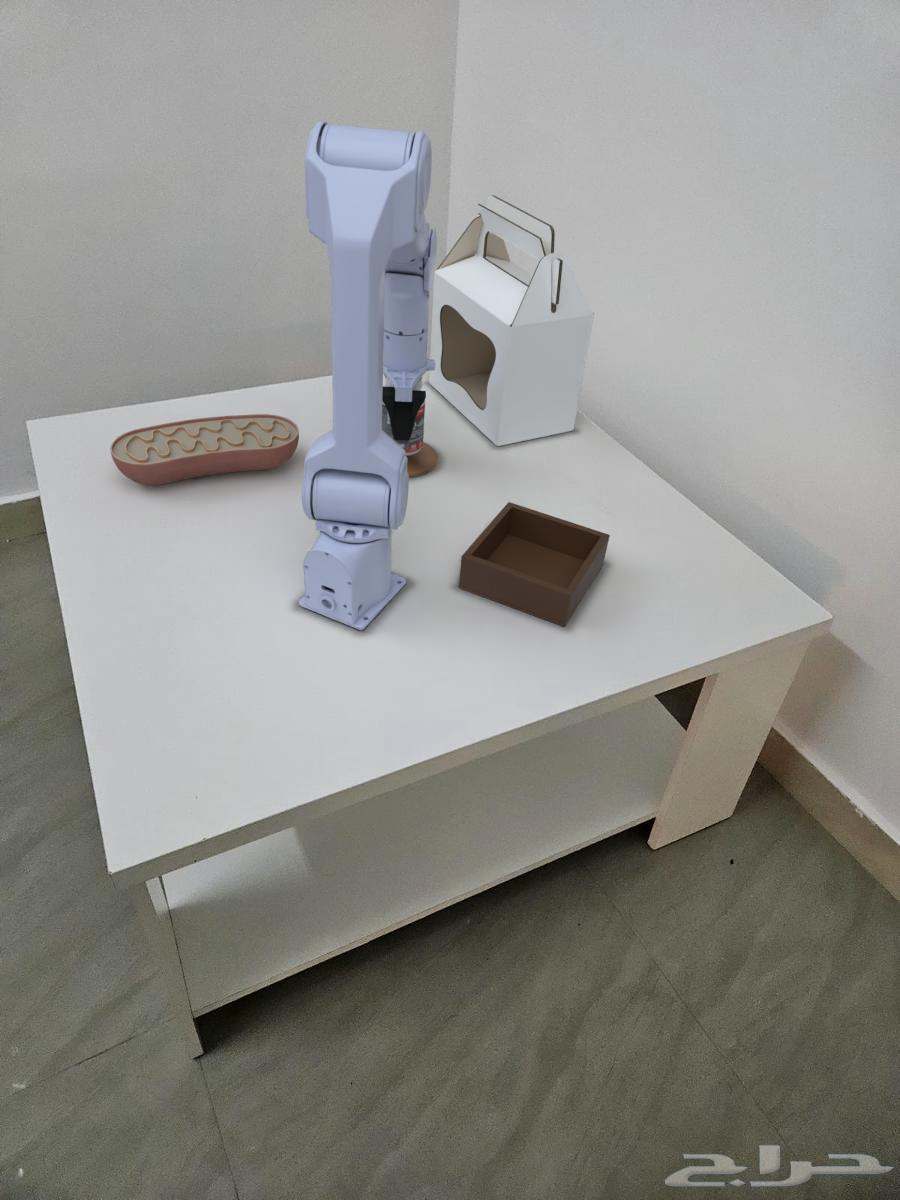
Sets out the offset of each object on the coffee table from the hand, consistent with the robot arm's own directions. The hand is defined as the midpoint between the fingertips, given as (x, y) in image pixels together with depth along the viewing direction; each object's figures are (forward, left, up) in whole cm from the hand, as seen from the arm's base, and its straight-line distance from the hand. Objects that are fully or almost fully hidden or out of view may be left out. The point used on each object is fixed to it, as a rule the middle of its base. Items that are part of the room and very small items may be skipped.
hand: (401, 427), depth 108 cm
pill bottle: (0, 0, -3) cm, 3 cm away
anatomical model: (-16, +19, -5) cm, 25 cm away
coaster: (0, 0, -5) cm, 5 cm away
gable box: (+22, -5, -5) cm, 23 cm away
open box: (-14, -25, -5) cm, 30 cm away
